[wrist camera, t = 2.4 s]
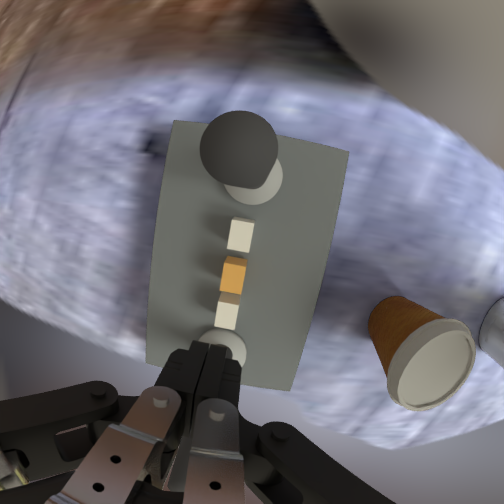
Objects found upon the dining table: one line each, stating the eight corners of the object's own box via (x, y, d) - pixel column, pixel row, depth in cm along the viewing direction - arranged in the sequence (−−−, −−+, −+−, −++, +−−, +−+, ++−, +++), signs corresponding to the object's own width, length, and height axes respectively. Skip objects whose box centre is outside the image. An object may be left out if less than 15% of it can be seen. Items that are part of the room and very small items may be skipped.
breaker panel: (338, 156, 28) (358, 147, 22) (287, 371, 34) (291, 406, 27) (184, 128, 28) (165, 113, 22) (156, 346, 33) (137, 375, 27)
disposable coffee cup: (339, 336, 32) (370, 400, 21) (386, 267, 31) (443, 306, 19) (393, 364, 33) (432, 423, 21) (437, 304, 31) (493, 346, 20)
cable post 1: (286, 153, 25) (331, 90, 8) (275, 209, 26) (303, 242, 9) (229, 143, 25) (178, 67, 8) (219, 198, 26) (148, 214, 9)
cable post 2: (250, 332, 28) (239, 477, 12) (242, 373, 29) (227, 513, 13) (200, 323, 28) (142, 456, 12) (194, 364, 29) (147, 496, 13)
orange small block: (247, 259, 26) (246, 266, 24) (242, 284, 27) (241, 294, 24) (227, 255, 26) (224, 262, 24) (223, 281, 27) (219, 290, 24)
